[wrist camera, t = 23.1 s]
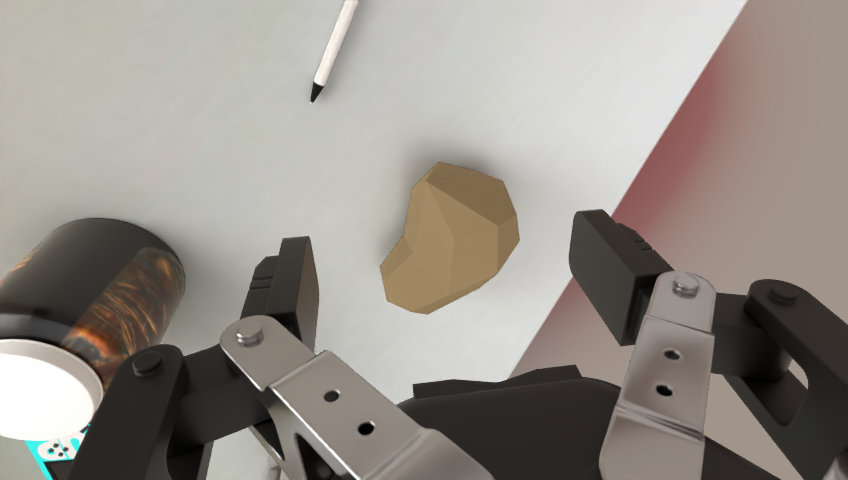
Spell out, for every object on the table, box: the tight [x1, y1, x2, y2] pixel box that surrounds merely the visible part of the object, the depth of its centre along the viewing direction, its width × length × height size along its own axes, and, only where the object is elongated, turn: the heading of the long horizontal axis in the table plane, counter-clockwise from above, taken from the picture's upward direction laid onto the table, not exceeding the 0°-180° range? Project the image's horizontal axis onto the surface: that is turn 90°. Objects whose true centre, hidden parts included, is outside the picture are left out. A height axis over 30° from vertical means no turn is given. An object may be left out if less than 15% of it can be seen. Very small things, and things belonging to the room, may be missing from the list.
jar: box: [0, 218, 185, 441], centre depth 39 cm, size 12×12×15 cm
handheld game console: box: [24, 424, 90, 480], centre depth 56 cm, size 10×16×1 cm, turn 178°
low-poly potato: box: [380, 162, 520, 314], centre depth 42 cm, size 15×11×12 cm
